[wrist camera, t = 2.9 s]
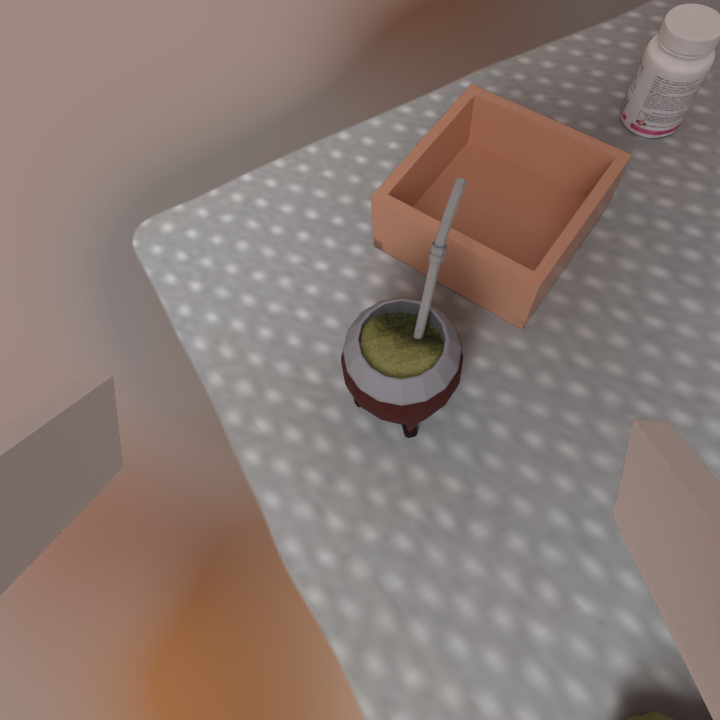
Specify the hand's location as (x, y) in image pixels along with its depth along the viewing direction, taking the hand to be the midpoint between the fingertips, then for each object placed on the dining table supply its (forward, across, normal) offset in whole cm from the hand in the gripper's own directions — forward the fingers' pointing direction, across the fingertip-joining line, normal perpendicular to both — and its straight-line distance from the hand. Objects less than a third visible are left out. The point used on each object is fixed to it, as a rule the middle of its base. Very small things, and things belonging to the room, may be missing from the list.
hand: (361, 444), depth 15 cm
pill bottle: (+41, +19, +10) cm, 47 cm away
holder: (+33, +6, +2) cm, 34 cm away
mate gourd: (+24, +1, -8) cm, 25 cm away
